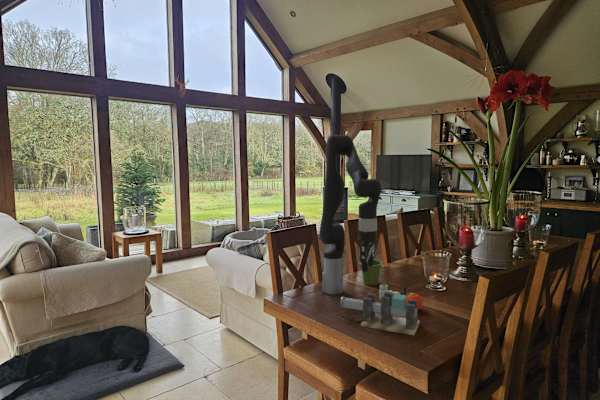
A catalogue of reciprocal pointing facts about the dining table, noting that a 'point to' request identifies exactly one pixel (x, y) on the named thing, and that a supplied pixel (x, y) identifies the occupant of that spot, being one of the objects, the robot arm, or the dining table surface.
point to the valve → (384, 289)
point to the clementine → (415, 297)
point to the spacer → (399, 301)
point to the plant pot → (372, 273)
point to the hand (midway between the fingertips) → (367, 268)
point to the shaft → (375, 306)
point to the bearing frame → (387, 320)
